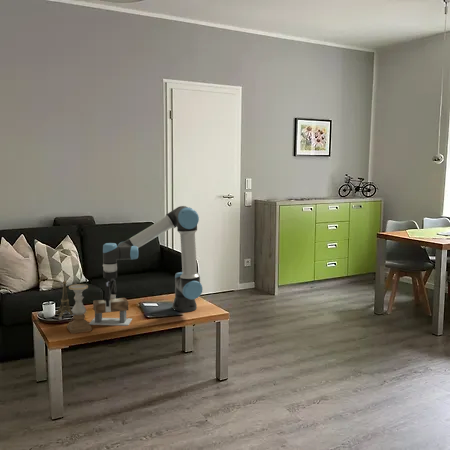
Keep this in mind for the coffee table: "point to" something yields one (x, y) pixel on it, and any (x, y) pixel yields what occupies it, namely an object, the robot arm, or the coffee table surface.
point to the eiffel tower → (64, 300)
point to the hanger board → (111, 320)
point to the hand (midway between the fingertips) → (110, 308)
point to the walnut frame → (116, 305)
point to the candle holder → (78, 311)
